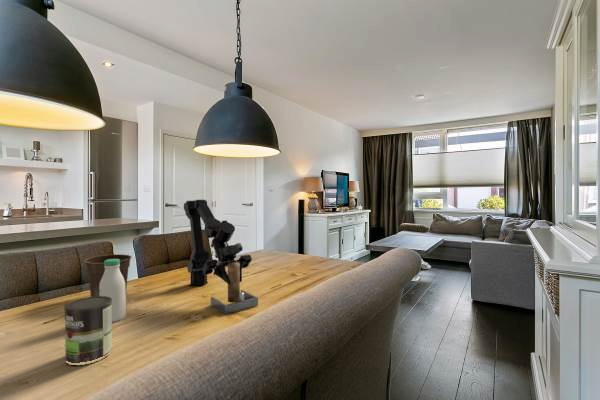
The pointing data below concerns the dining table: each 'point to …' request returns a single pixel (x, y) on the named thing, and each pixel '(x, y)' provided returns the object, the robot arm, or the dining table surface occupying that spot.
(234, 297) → the peg
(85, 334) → the coffee can
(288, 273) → the dining table surface
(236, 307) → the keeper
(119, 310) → the milk bottle
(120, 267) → the plant pot
